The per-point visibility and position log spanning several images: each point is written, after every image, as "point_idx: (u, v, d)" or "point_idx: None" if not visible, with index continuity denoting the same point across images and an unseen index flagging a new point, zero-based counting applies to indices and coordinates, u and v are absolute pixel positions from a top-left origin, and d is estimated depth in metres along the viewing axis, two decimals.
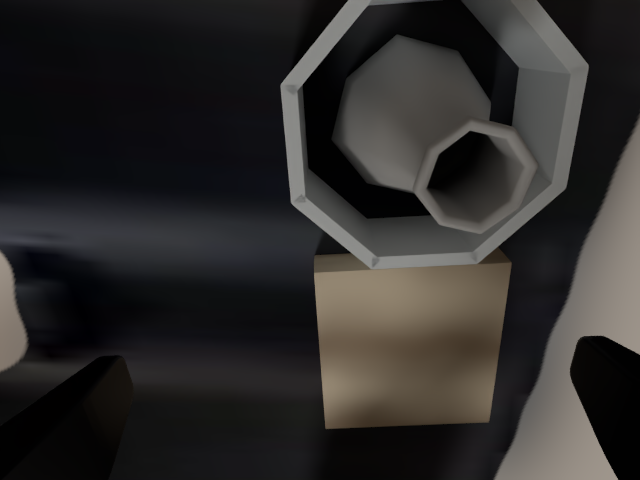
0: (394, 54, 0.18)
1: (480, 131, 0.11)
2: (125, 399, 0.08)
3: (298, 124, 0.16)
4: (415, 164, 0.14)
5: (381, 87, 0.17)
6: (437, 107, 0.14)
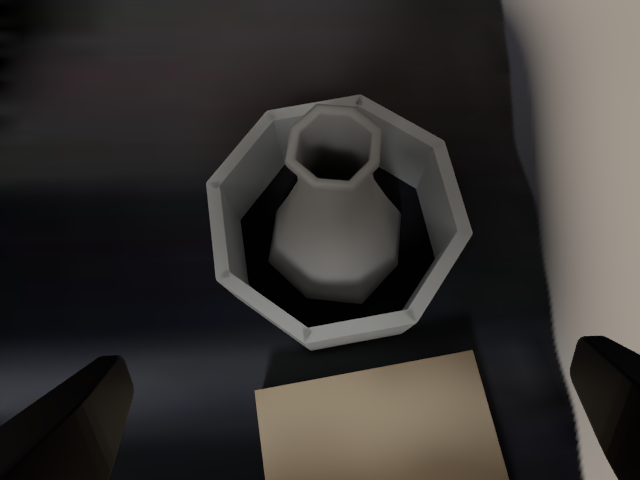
0: None
1: (327, 112, 0.14)
2: (125, 399, 0.08)
3: (221, 209, 0.19)
4: None
5: None
6: (320, 156, 0.18)
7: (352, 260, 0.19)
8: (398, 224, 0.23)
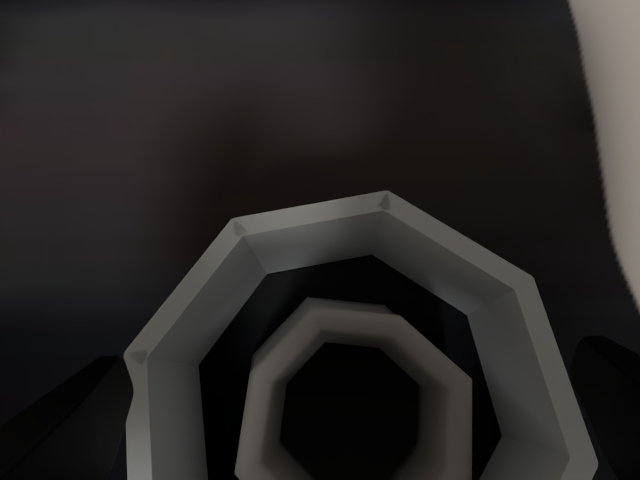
0: (299, 312, 0.15)
1: (338, 329, 0.06)
2: (125, 399, 0.08)
3: (146, 406, 0.11)
4: (280, 430, 0.07)
5: None
6: None
7: None
8: None
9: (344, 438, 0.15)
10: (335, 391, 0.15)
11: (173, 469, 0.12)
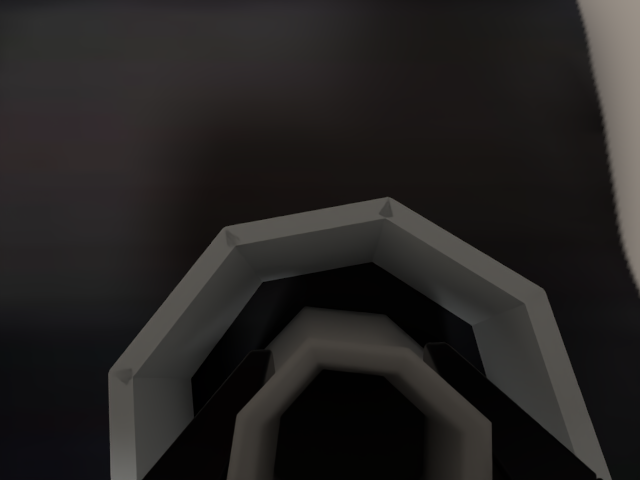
0: (296, 324, 0.14)
1: (337, 363, 0.05)
2: None
3: (132, 430, 0.10)
4: (273, 469, 0.07)
5: (274, 364, 0.12)
6: None
7: None
8: None
9: (343, 456, 0.14)
10: (334, 406, 0.14)
11: None
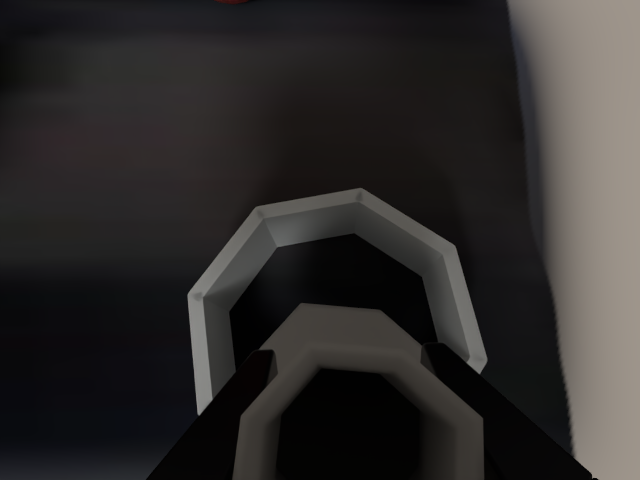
0: (293, 321, 0.14)
1: (336, 364, 0.06)
2: None
3: (204, 327, 0.17)
4: (275, 465, 0.07)
5: None
6: None
7: None
8: None
9: (341, 448, 0.14)
10: (331, 400, 0.15)
11: (219, 371, 0.18)
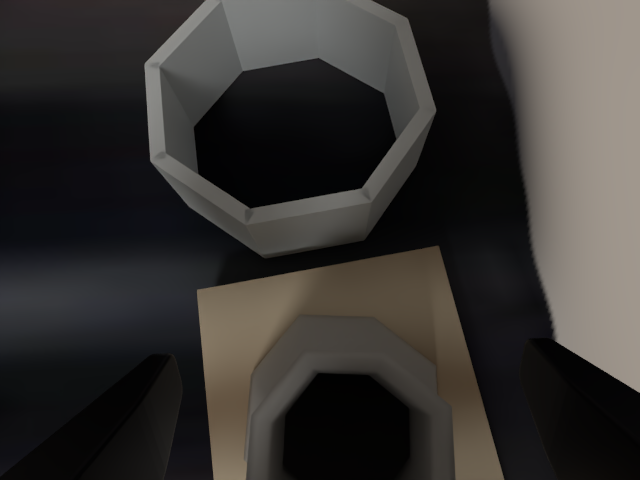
0: (293, 332, 0.15)
1: (328, 368, 0.07)
2: (176, 397, 0.08)
3: (159, 90, 0.17)
4: (282, 459, 0.08)
5: (276, 370, 0.13)
6: None
7: None
8: (435, 389, 0.15)
9: (344, 449, 0.15)
10: (333, 403, 0.16)
11: (176, 144, 0.18)
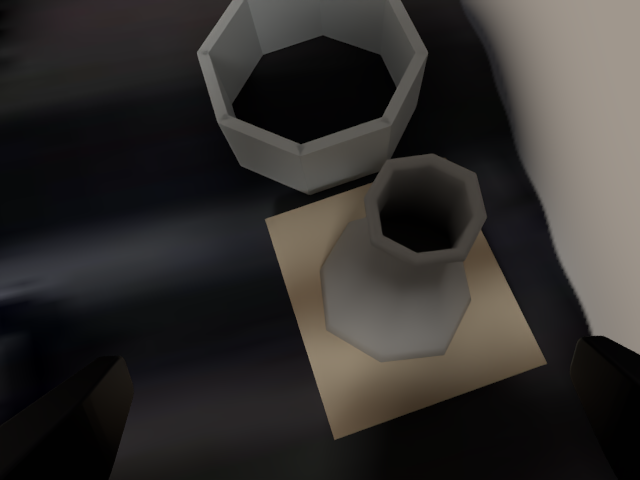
0: (348, 229, 0.20)
1: (403, 167, 0.12)
2: (125, 399, 0.08)
3: (213, 70, 0.22)
4: (377, 247, 0.13)
5: (344, 248, 0.18)
6: (381, 210, 0.15)
7: (437, 317, 0.16)
8: None
9: None
10: None
11: (229, 112, 0.23)
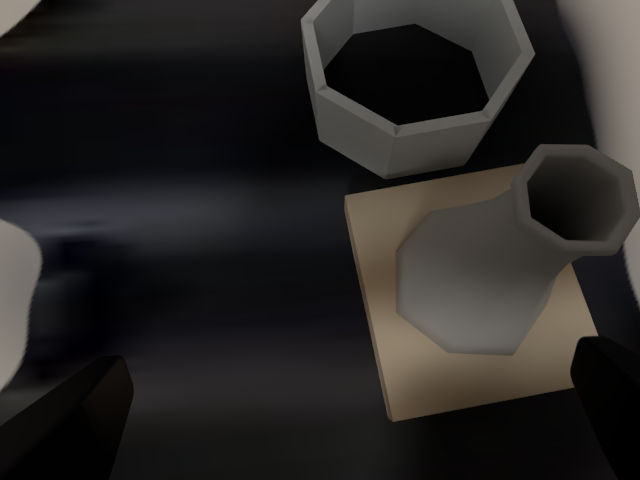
0: (434, 216, 0.20)
1: (556, 154, 0.12)
2: (125, 399, 0.08)
3: (315, 39, 0.22)
4: (504, 232, 0.13)
5: (433, 234, 0.18)
6: (498, 198, 0.15)
7: (528, 315, 0.16)
8: None
9: None
10: None
11: None
